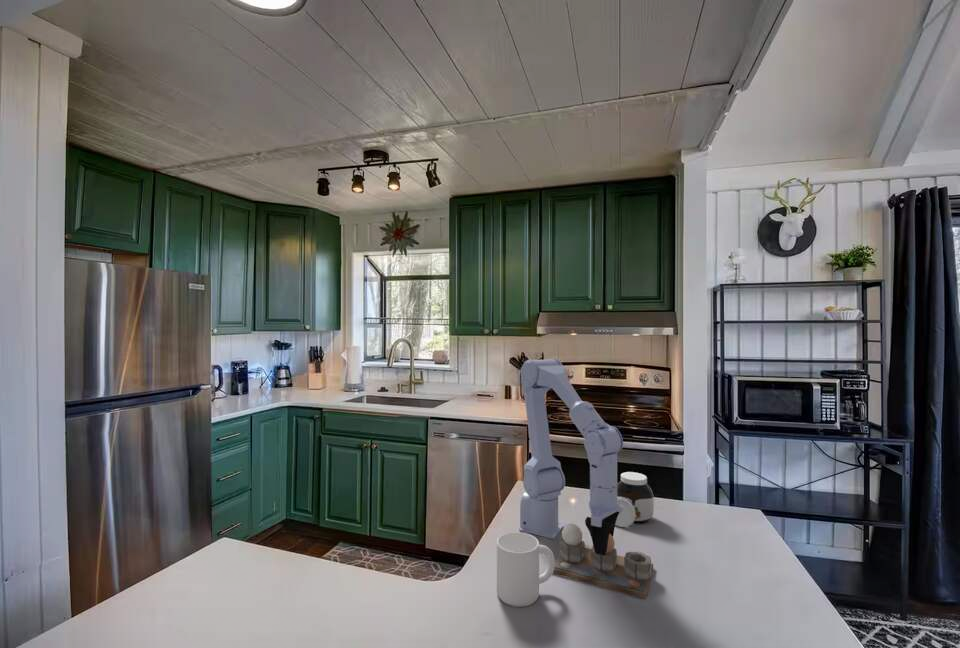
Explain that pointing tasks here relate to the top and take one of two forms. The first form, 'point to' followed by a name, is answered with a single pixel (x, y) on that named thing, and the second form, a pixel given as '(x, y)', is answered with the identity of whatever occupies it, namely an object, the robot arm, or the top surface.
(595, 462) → the robot arm
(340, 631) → the top surface
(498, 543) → the mug
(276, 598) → the top surface
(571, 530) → the cream ball
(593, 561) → the brown egg holder tray
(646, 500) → the spread jar
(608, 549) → the terracotta ball
